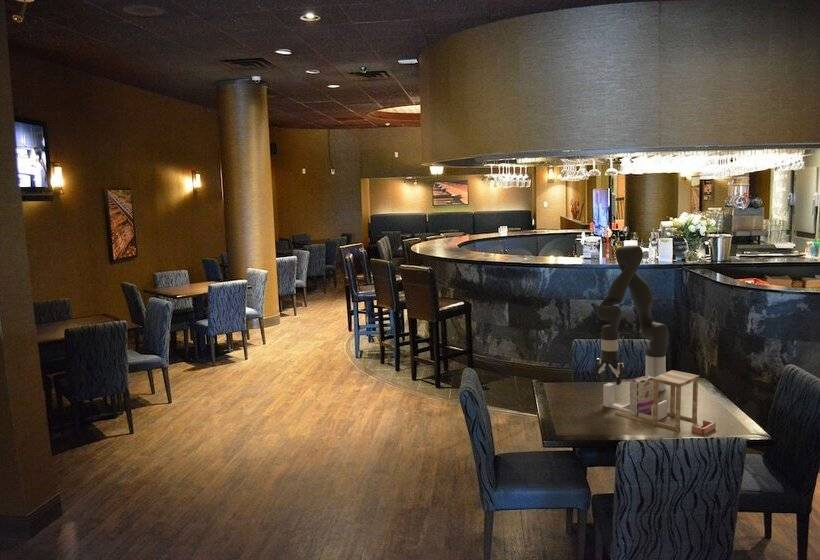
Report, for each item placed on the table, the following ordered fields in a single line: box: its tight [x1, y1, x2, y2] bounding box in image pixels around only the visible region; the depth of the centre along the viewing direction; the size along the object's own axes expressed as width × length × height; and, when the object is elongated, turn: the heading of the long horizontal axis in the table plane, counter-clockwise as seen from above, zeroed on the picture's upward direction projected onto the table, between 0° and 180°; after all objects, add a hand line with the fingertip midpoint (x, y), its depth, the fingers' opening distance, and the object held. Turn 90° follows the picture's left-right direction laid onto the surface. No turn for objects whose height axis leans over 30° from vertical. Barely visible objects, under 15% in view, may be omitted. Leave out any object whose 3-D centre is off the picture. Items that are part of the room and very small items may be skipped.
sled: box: [602, 382, 668, 421], centre depth 301 cm, size 11×27×10 cm, turn 40°
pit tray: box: [691, 419, 717, 437], centre depth 277 cm, size 10×5×3 cm, turn 130°
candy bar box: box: [629, 375, 654, 416], centre depth 297 cm, size 11×5×16 cm, turn 118°
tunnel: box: [614, 369, 700, 432], centre depth 292 cm, size 16×30×20 cm, turn 40°
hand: (610, 382), depth 309 cm, fingers open, 8 cm apart
